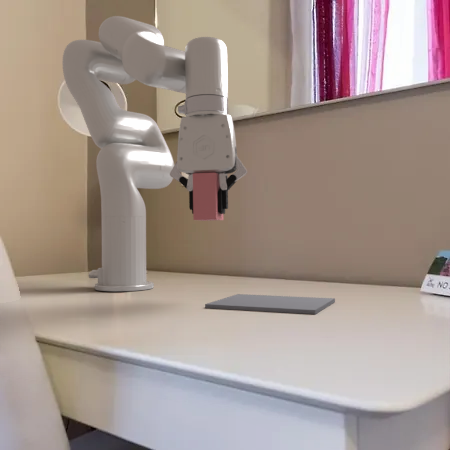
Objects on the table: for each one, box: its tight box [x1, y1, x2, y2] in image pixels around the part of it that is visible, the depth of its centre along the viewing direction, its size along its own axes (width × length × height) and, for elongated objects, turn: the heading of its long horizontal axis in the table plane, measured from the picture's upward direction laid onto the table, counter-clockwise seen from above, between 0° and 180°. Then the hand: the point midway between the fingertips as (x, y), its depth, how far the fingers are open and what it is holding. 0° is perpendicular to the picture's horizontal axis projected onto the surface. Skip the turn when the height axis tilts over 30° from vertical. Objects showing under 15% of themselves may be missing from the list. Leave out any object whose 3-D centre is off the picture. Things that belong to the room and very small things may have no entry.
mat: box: [204, 293, 336, 315], centre depth 88 cm, size 18×14×1 cm
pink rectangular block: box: [192, 173, 224, 222], centre depth 93 cm, size 4×6×8 cm, turn 168°
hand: (208, 212), depth 93 cm, fingers closed on pink rectangular block, 4 cm apart
